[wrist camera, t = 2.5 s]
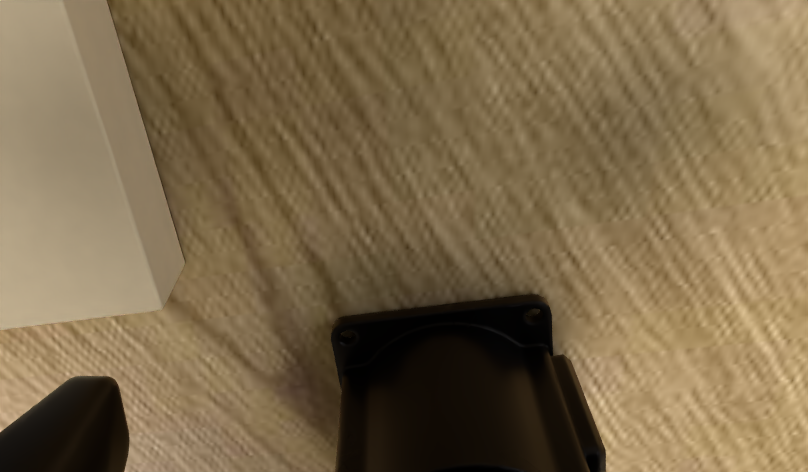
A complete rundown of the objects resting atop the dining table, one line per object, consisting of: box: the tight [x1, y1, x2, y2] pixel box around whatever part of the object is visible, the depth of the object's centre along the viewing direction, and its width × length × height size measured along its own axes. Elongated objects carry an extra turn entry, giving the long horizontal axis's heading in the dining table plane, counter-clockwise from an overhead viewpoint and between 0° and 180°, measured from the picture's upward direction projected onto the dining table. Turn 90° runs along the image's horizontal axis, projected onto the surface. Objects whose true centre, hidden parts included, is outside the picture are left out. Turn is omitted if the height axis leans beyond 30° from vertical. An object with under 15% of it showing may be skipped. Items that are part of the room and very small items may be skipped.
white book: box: [0, 0, 185, 330], centre depth 17 cm, size 6×9×3 cm
